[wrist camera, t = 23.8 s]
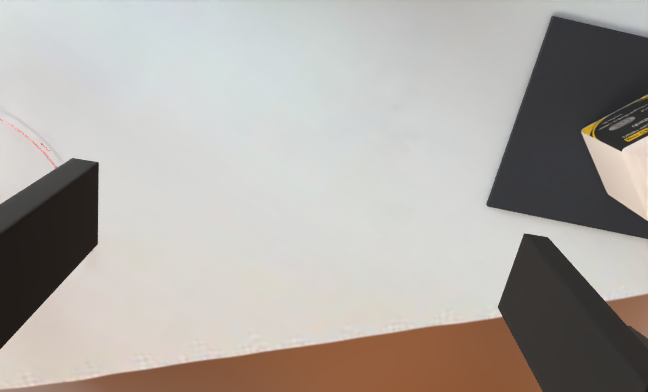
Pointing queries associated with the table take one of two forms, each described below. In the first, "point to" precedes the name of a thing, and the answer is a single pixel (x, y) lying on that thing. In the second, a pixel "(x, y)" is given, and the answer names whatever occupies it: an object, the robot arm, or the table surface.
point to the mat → (571, 127)
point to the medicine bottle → (623, 154)
